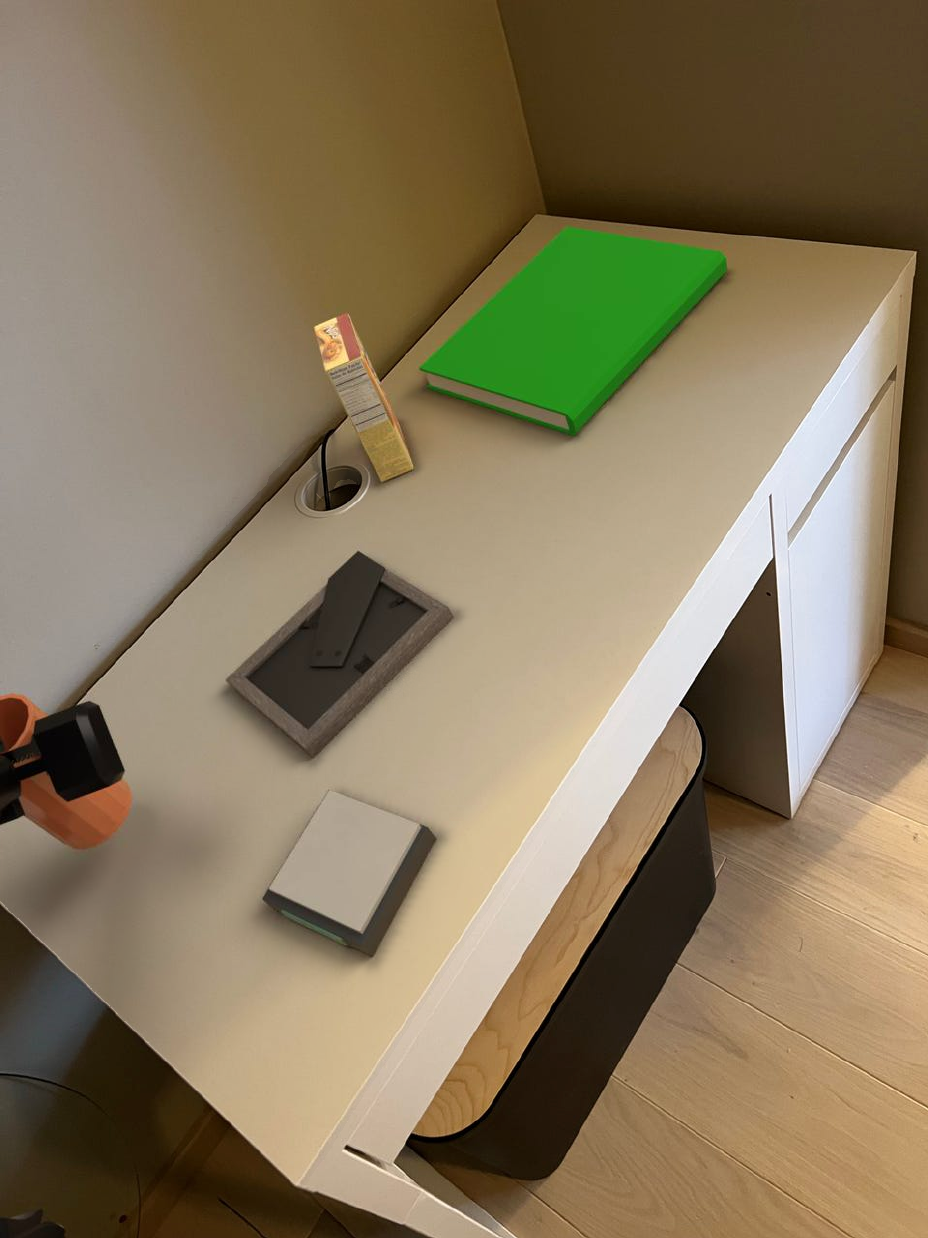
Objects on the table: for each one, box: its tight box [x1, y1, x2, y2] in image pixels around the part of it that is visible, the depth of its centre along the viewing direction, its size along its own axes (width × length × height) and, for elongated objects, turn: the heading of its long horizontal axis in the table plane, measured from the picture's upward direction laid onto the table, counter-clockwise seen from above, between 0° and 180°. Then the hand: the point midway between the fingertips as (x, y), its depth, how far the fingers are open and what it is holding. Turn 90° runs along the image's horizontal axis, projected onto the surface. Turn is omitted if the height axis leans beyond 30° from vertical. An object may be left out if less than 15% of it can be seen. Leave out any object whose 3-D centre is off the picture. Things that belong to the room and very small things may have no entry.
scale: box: [261, 789, 437, 958], centre depth 75 cm, size 10×10×3 cm
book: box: [418, 226, 728, 437], centre depth 109 cm, size 22×28×3 cm
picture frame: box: [225, 550, 454, 759], centre depth 90 cm, size 13×2×18 cm
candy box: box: [313, 312, 414, 483], centre depth 101 cm, size 9×4×15 cm, turn 15°
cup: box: [0, 693, 133, 851], centre depth 77 cm, size 7×7×13 cm
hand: (48, 759), depth 78 cm, fingers closed on cup, 7 cm apart
